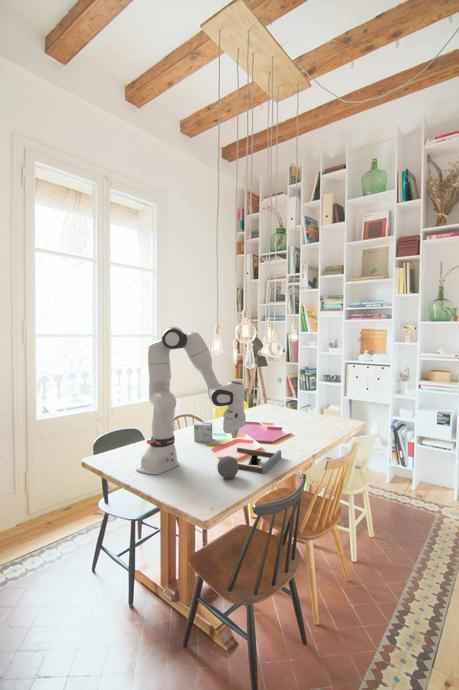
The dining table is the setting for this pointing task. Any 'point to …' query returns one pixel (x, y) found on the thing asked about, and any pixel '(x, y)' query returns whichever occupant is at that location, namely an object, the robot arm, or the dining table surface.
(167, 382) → the robot arm
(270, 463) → the frame
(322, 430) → the dining table surface
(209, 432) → the light bulb box
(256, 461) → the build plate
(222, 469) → the decorative ball
